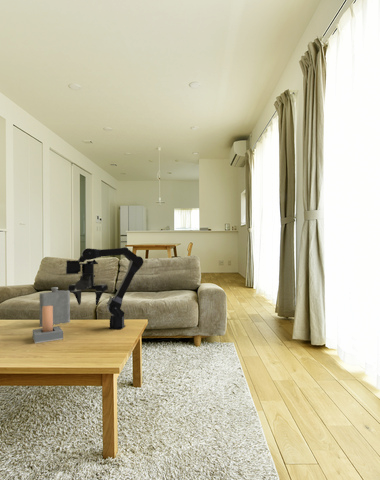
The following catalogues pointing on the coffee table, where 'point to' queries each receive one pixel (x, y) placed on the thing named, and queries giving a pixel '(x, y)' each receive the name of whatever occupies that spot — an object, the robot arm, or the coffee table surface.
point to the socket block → (47, 335)
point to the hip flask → (56, 305)
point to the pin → (47, 318)
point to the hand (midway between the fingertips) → (88, 304)
